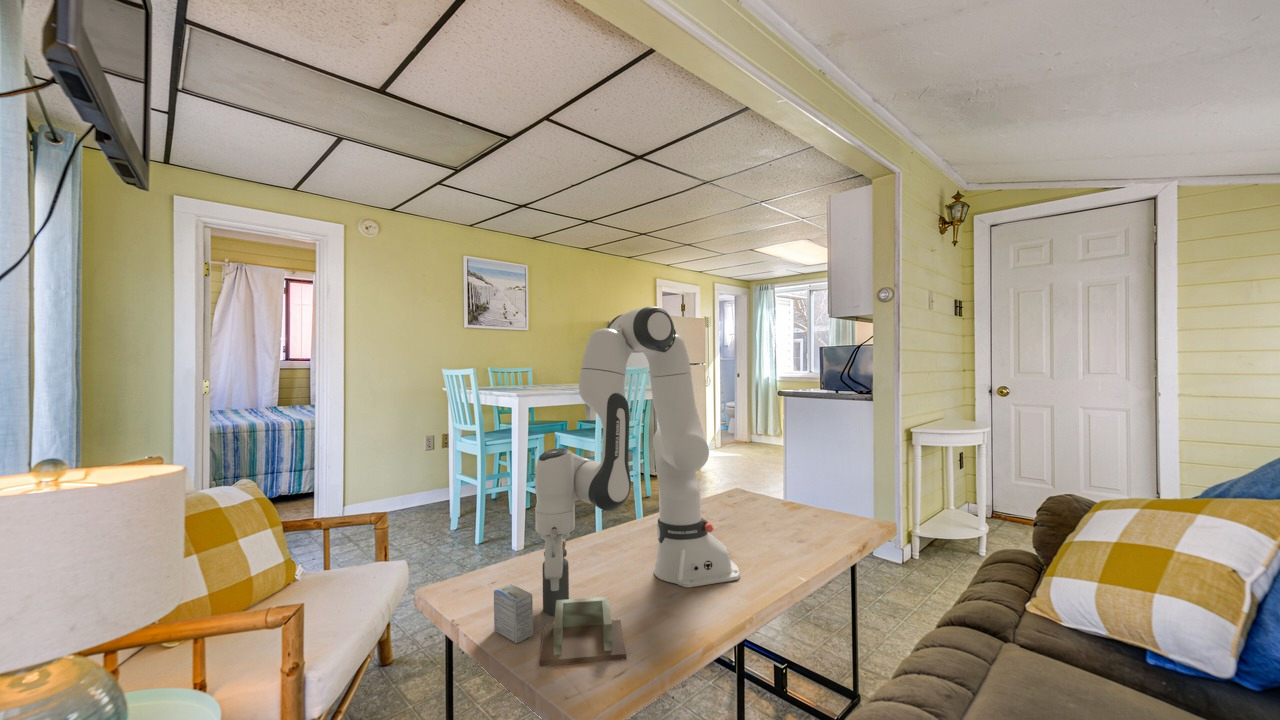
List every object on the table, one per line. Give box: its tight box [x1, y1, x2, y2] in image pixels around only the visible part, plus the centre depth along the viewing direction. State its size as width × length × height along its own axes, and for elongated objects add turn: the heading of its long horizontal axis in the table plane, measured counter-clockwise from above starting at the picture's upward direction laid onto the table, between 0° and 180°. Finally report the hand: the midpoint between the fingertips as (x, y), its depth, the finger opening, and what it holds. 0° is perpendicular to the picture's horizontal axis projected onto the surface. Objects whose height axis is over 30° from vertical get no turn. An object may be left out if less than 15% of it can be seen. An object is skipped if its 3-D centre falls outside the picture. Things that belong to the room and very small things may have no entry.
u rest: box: [539, 596, 627, 667], centre depth 100 cm, size 16×13×6 cm
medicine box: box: [493, 583, 534, 644], centre depth 104 cm, size 8×4×9 cm, turn 48°
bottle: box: [542, 540, 570, 617], centre depth 114 cm, size 6×6×15 cm
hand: (555, 582), depth 114 cm, fingers closed on bottle, 6 cm apart
